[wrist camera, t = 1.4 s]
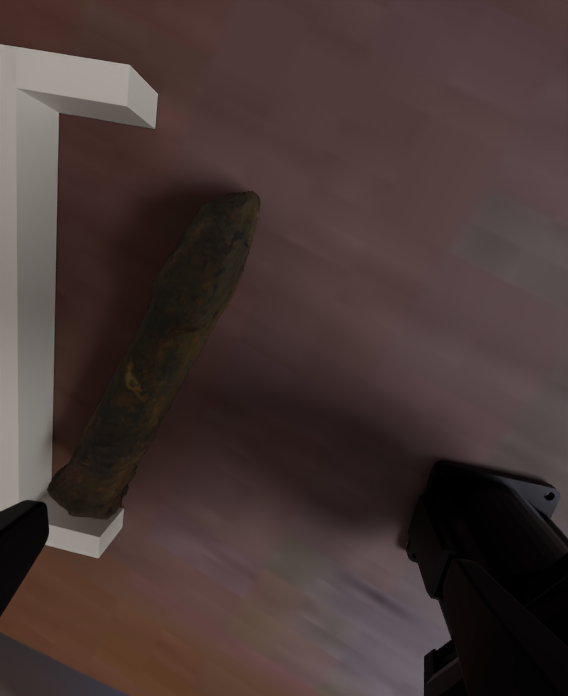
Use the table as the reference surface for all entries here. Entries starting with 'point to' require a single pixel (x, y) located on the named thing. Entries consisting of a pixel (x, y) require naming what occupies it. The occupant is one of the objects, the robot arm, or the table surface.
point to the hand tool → (159, 356)
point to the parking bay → (44, 261)
